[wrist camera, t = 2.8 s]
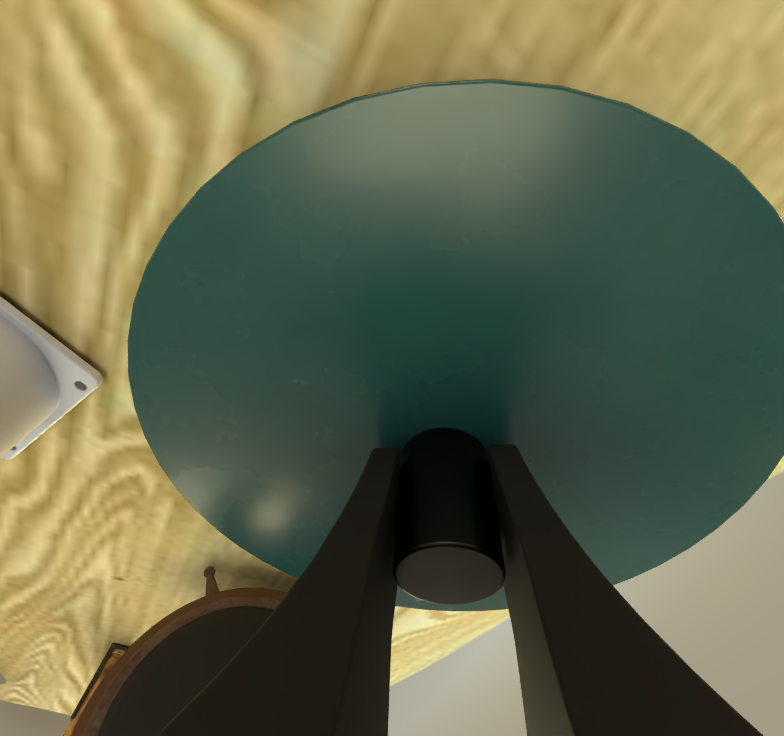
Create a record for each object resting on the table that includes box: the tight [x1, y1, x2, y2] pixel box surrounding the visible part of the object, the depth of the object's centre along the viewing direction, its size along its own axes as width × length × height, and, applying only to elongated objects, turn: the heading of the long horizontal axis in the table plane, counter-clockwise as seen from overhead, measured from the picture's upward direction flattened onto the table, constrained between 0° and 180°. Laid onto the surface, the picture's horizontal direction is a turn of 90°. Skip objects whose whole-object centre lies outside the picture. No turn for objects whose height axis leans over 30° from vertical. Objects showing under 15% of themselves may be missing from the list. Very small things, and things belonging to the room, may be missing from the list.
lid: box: [128, 79, 784, 611], centre depth 11 cm, size 17×17×4 cm
